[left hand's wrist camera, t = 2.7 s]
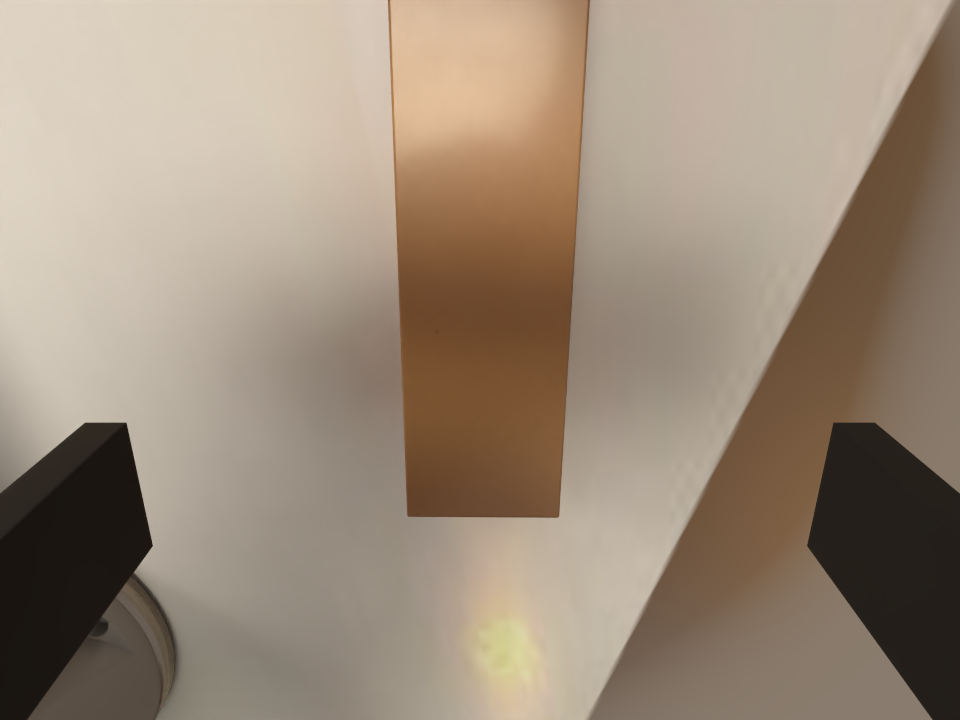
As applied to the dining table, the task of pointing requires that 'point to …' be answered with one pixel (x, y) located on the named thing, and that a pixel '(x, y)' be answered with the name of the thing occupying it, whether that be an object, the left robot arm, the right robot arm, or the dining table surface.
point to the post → (486, 246)
